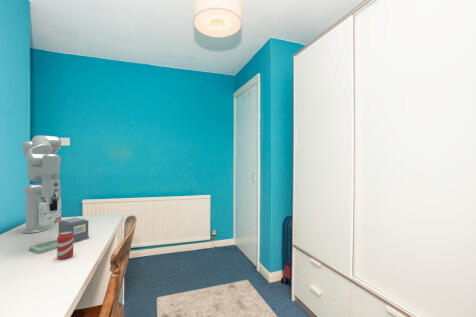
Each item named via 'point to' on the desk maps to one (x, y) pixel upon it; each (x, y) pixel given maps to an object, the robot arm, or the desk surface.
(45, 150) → the robot arm
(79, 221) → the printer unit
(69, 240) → the beverage can
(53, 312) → the desk surface
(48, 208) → the ink cartridge box
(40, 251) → the tray
